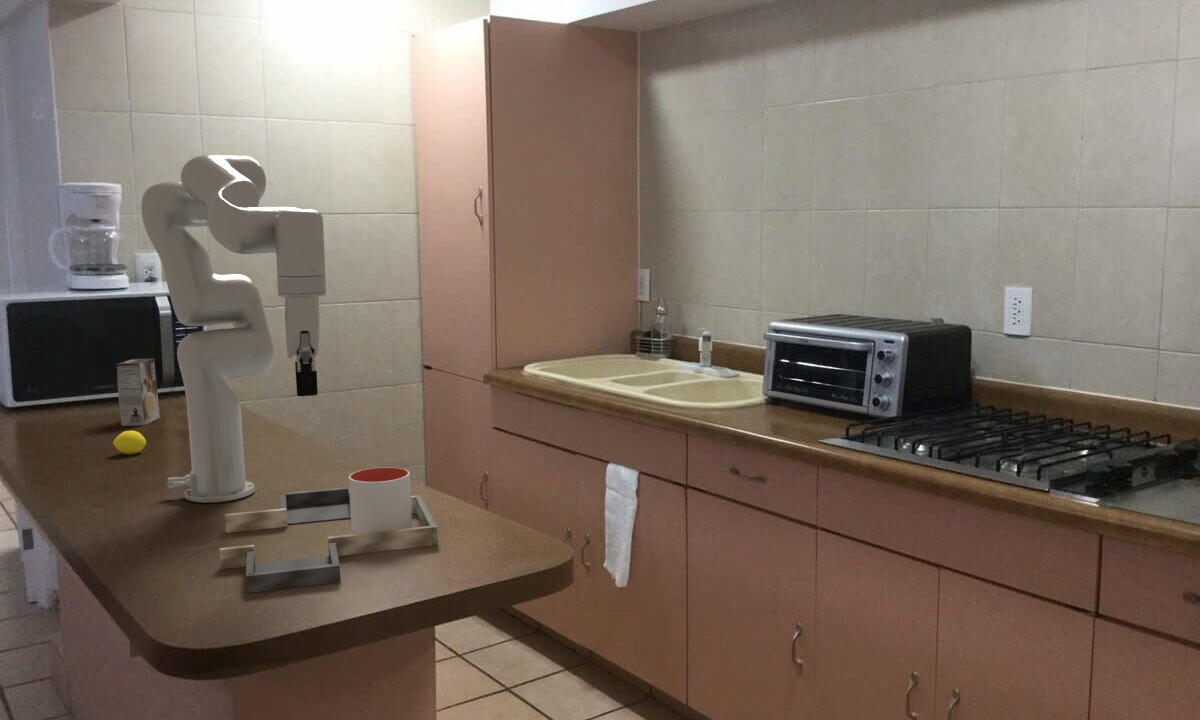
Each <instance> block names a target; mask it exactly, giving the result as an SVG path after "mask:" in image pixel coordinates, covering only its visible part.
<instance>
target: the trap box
mask: <svg viewBox="0 0 1200 720" xmlns="http://www.w3.org/2000/svg"><path fill="white" fill-rule="evenodd" d="M279 500H280V501H279V503H280V507H279V508H273V509H264V510H254V511H243V512H231V513H225V514H224V522H225V524H224V525H225V533H226V534H227V533H236V532H237V533H239V532H247V531H257V530H265V529H268V530H269V529H277V528H278V529H279V528H287V527H288V526H291V525H300V524H308V523H310V524H311V523H318V522H319V523H321V522H330V521H338V520H339V521H340V520H348V519H349V520H351V512H350V494H349V486H348V487H338V488H337V487H336V488H325V489H316V490H305V491H304V490H303V491H294V492H285V493H279ZM411 508H412V515H413V514H415V515H417V517H418V520H419V522H420V523H421V526H414V527H411V528H405V529H396V530H386V531H377V532H368V533H358V534H354V533H350V534H343V535H340V534H339V535H331V536H330V535H329V536H327V541H328V543H327V544H328V555H327V556H326V555H324V556H316V557H315V556H314V557H308V558H307V557H306V558H298V559H290V560H282V561H281V560H280V561H272V562H271V561H270V562H263V563H257V562H256V551H255V550H256V548H255V544H247V545H238V546H236V545H235V546H227V547H220V548H219V561H220V562H219V563H220V570H226V569H235V568H243V567H246V569H245V584H246V594H250V593H260V592H268V591H276V590H284V589H293V588H301V587H311V586H318V585H326V584H335V583H336V584H337V583H341V565H340V561H339V560H340V559H339V557H341V556H352V555H360V554H367V553H368V554H369V553H376V552H377V553H378V552H384V551H385V552H387V551H396V550H405V549H414V548H422V547H431V546H438V545H439V539H438V537H439V534H438V525H437V524H436V522H435V520H434V518H433V516H432V514H431V512H430V510H429V508H428V506H427V504H426V503H425V500H424V499H423V497H422V495H421V494H417V495H411Z"/></svg>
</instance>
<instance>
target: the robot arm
mask: <svg viewBox="0 0 1200 720" xmlns="http://www.w3.org/2000/svg"><path fill="white" fill-rule="evenodd" d="M266 188H267V178H266V174H265V170H264V168H263V166H262V165H261V163H259V162H258V161H257V160H256V159H254V158H253V157H250V156H247V155H214V154H213V155H211V154H210V155H206V154H205V155H199V156H195V157H192V158H191V159H189V160H188V161H187V162H186V163H185V164H184V165H183V167H182V168H181V172H180V181H167V182H159V183H156V184H153V185H151V186H150V187H148V188H147V189H146V190H145V191H144V193H143V195H142V197H141V205H140V207H141V208H140V209H141V210H140V211H141V218H142V222H143V226H144V229H145V232H146V234H147V236H148V238H149V240H150V242H151V244H152V246H153V248H154V249H155V252H156V253H157V255H158V257H159V259H160V262H161V265H162V268H163V273H164V277H165V281H166V285H167V288H168V289H167V290H168V292H169V293H168V294H169V296H170V297H169V298H170V300H171V305H172V308H173V311H174V314H175V316H176V319H177V321H178V322H179V323H181V324H182V325H184V326H186V327H187V326H188V327H206V326H217V325H226V324H228V325H229V324H232V326H233V327H230V328H219V329H218V328H217V329H209V330H208V329H207V330H201V331H200V330H199V331H196V332H192V333H190V334H187V335H186V336H184V337H183V338H182V339H181V340H180V341H179V344H178V345H177V349H176V357H177V363H178V367H179V370H180V373H181V378H182V382H183V387H184V392H185V400H186V412H187V413H186V414H187V422H188V425H187V426H188V435H189V450H190V460H191V461H190V462H191V470H190V474H185V475H184V476H180V477H179V476H172V477H167V488H169V489H171V488H173V490H178V489H185V488H186V490H185V492H184V497H185V499H186V500H187V501H189V502H194V503H201V504H203V503H205V504H206V503H207V504H208V503H211V504H214V503H222V502H223V503H224V502H229V501H235V500H239V499H242V498H245V497H247V496H250V495H252V494H253V493H254V492H255V491H256V488H255V484H254V483H253V482H251V481H248V480H247V479H246V466H245V462H246V461H245V451H244V437H243V424H242V423H243V421H242V410H241V409H242V408H241V402H240V399H239V397H238V395H237V394H236V393H235V391H234V390H232V388H231V387H230V386H229V385H228V384H227V380H232V379H236V378H243V377H250V376H252V377H253V376H257V375H261V374H265V373H266V372H268V371H269V370H270V369H271V368H272V366H273V363H274V359H275V350H274V344H273V340H272V336H271V335H272V334H271V333H270V328H269V325H268V321H267V317H266V313H265V309H264V305H263V302H262V298H261V295H260V292H259V290H258V288H257V285H256V284H255V282H254V281H253V280H252V279H251V278H250V277H248V276H246V275H244V274H242V273H241V274H239V273H227V274H226V273H225V274H216V273H215V271H214V270H213V267H212V264H211V261H210V255H209V253H208V251H207V249H206V248H205V246H204V245H203V244H202V243H201V242H200V241H199V240H198V239H197V238H196V237H195V236H194V235H192V233H190V232H188V230H187V229H186V228H189V227H194V228H195V227H208V229H209V233H210V235H211V236H212V238H213V239H214V240H215V241H217V243H219V244H220V245H221V246H223V247H224V248H225V249H227V250H228V251H230V252H232V253H235V254H238V255H239V254H240V255H253V254H254V255H256V254H269V253H270V254H271V253H272V254H273V253H274V254H275V255H276V256H275V257H276V258H275V259H276V274H277V295H278V296H277V297H282V298H284V320H285V337H286V339H285V340H286V341H285V342H286V356H287V357H288V358H289V359H293V358H292V357H293V356H296V361H295V362H294V366H295V367H294V368H295V383H296V395H297V397H311V396H313V397H315V396H317V395H318V394H319V393H318V392H319V390H318V373H317V371H318V370H316V360H315V358H316V357H317V356H319V351H320V327H321V326H320V324H321V323H320V302H319V301H320V298H319V297H323V296H326V295H327V285H326V283H327V281H326V260H325V259H326V257H325V236H324V234H325V233H324V231H325V230H324V219H323V218H324V217H323V216H322V214H321V212H320V211H318V210H315V209H307V208H305V209H304V208H303V209H302V208H298V207H293V206H292V207H291V206H276V207H275V206H274V207H273V206H262V207H261V206H260V205H259V204H260V201H261V199H262V198H263V196H264V194H265V192H266Z"/></svg>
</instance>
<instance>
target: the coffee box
mask: <svg viewBox="0 0 1200 720" xmlns="http://www.w3.org/2000/svg"><path fill="white" fill-rule="evenodd" d="M115 372H116V383H117V392H118V394H117V395H118V403H119V404H118V405H119V415H120V425H121V426H124V427H125V426H126V427H127V426H128V427H129V426H132V427H133V426H147V425H148V424H151V423H152V422H154V421H157V420H158V419H160V418H161V415H160V406H159V405H160V404H159V402H160V401H159V393H158V383H157V382H158V381H157V371H156V359H155V358H131V359H129V360H125V361H122V362H118V363H116V364H115Z"/></svg>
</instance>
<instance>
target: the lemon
mask: <svg viewBox="0 0 1200 720" xmlns="http://www.w3.org/2000/svg"><path fill="white" fill-rule="evenodd" d="M112 444H113V446H114V447H115V448H116V450H118V452H120V453H122V454H124V455H135V454H138V453H141V451H142V450H143V449H144V448H145V446H146V445H147V440H146V439H145V437H144V436H143V434H141V433H140V432H139V431H136V430H125V431H123V432H121V433H120V434H119V435H117V436H116V437H115V439H114V440H113V441H112Z"/></svg>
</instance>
